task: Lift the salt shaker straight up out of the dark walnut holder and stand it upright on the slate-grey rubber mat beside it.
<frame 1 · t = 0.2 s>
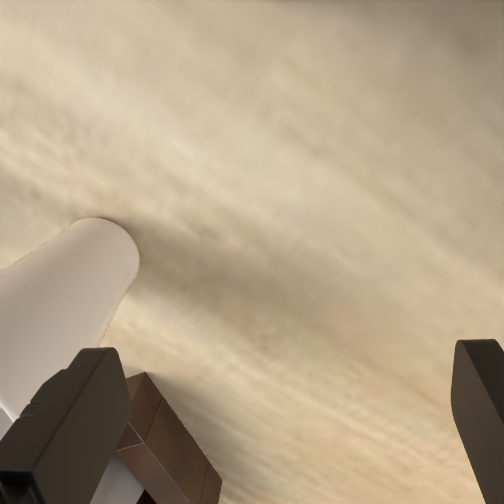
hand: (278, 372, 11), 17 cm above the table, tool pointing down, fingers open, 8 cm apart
holder: (122, 447, 38), on the table
drinking glass: (104, 250, 30), on the table
salt shaker: (123, 446, 38), resting in holder
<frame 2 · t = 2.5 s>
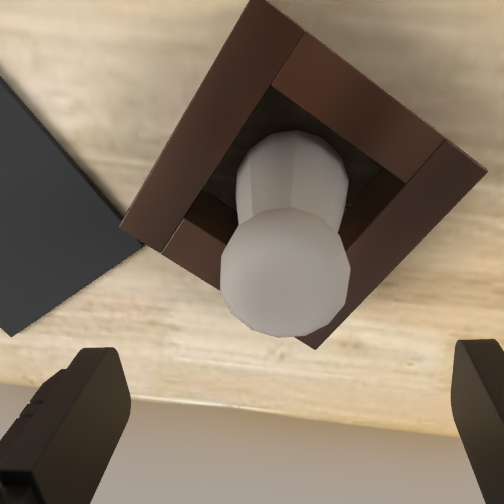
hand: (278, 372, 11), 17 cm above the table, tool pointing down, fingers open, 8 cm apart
holder: (292, 174, 26), on the table
mat: (3, 216, 29), on the table
salt shaker: (292, 173, 26), resting in holder
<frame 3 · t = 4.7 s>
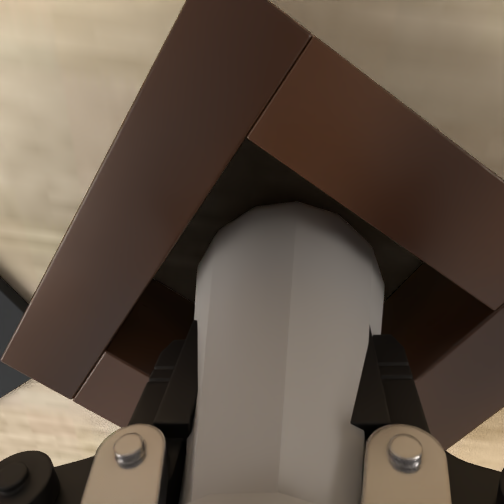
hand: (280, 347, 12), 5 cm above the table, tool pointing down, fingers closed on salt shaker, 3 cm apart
holder: (290, 258, 16), on the table
salt shaker: (290, 256, 17), resting in holder, touching gripper
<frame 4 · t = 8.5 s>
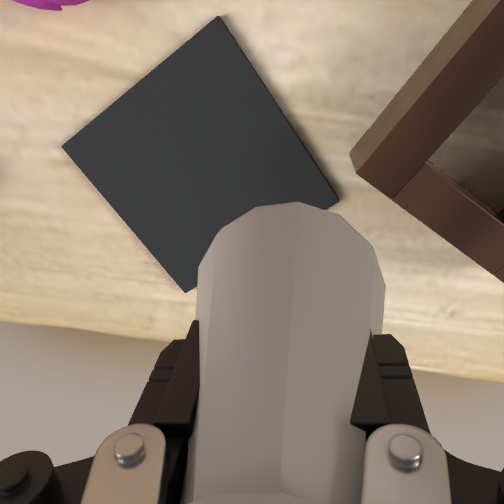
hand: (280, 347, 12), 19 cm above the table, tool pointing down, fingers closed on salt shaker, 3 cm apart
holder: (501, 130, 27), on the table
mat: (200, 171, 30), on the table
salt shaker: (291, 256, 17), point 14 cm above the table, touching gripper
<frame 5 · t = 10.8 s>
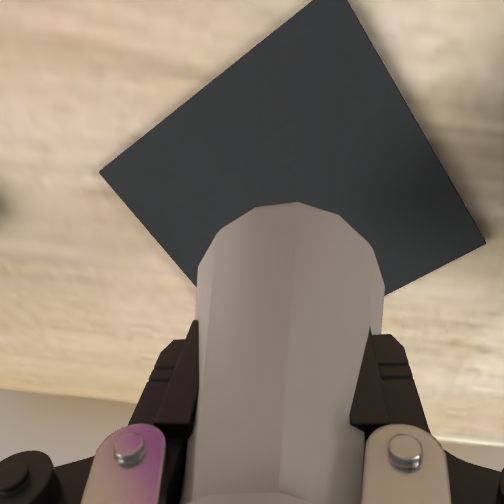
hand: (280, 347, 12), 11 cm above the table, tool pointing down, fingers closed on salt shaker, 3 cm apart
mat: (290, 203, 22), on the table
salt shaker: (290, 256, 17), point 6 cm above the table, touching gripper
when the fingers open (6 cm above the table, at t = 12.4 s): salt shaker stays where it is, resting on mat.
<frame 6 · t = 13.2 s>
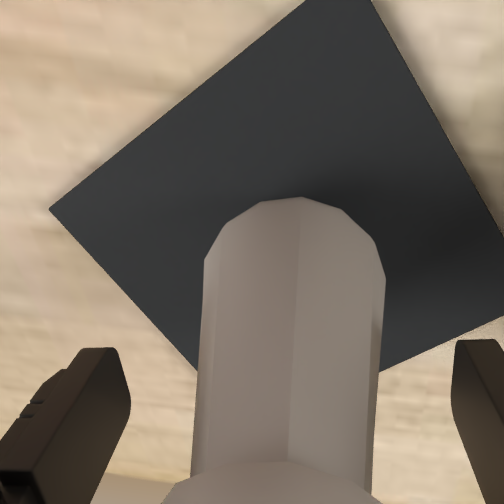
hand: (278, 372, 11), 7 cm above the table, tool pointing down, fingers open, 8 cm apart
mat: (289, 248, 17), on the table
salt shaker: (293, 251, 17), resting on mat
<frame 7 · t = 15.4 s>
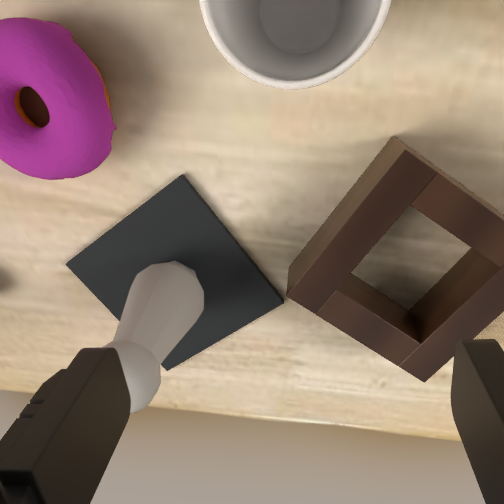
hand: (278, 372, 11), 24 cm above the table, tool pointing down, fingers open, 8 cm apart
holder: (403, 251, 35), on the table
donut: (57, 99, 33), on the table
mat: (175, 280, 38), on the table
drinking glass: (300, 11, 29), on the table
salt shaker: (175, 282, 38), resting on mat
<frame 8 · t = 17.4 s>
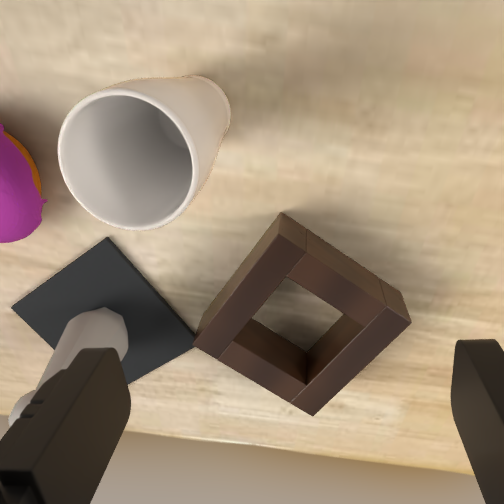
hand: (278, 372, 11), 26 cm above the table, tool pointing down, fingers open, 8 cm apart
holder: (298, 304, 41), on the table
mat: (106, 322, 44), on the table
drinking glass: (197, 111, 34), on the table
salt shaker: (107, 324, 43), resting on mat
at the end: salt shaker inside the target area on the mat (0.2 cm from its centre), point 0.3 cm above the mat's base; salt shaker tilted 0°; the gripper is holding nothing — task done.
